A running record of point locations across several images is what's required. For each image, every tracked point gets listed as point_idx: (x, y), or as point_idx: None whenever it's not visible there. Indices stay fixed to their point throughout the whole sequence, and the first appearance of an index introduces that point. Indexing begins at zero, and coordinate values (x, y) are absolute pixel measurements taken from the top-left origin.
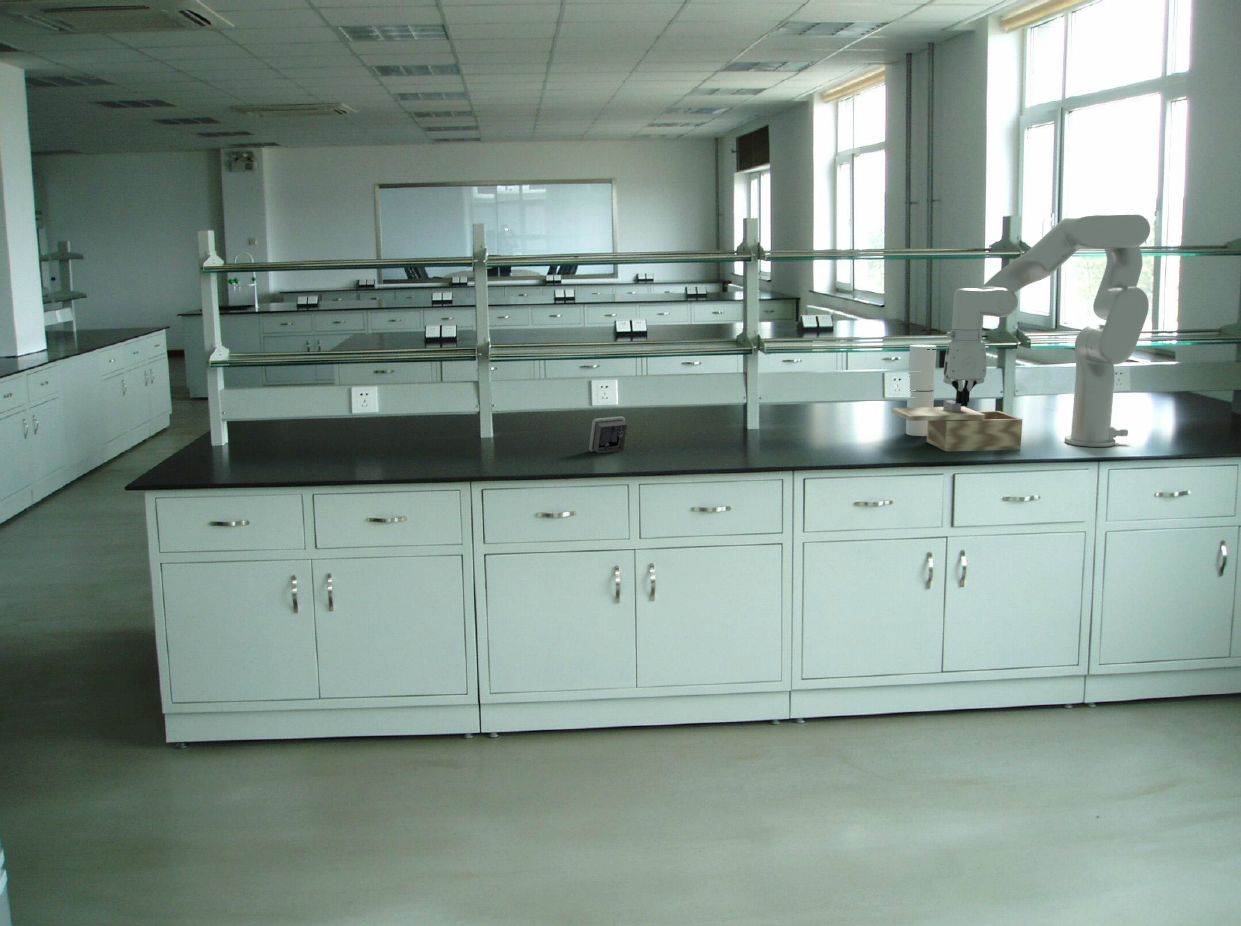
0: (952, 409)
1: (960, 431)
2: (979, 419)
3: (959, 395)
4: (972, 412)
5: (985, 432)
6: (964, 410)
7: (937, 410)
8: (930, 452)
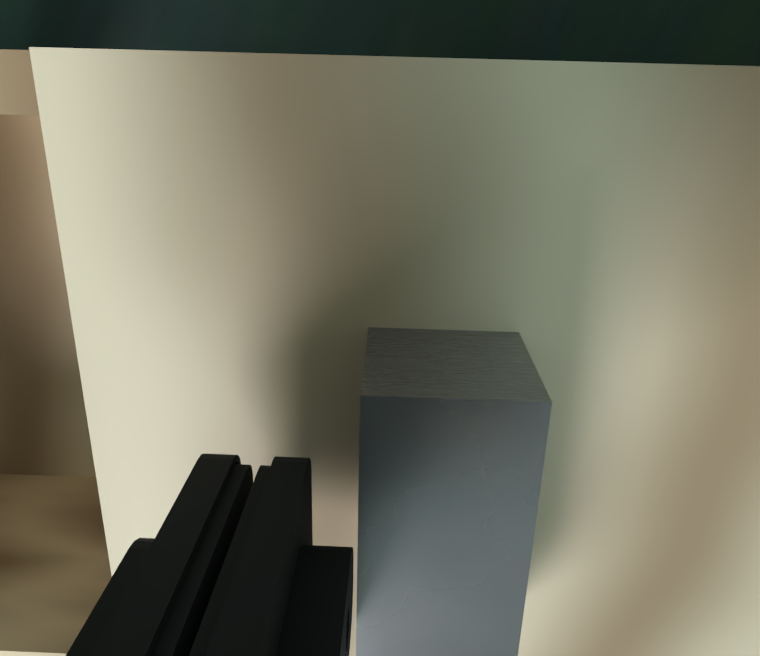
0: (519, 355)
1: None
2: (23, 585)
3: (318, 648)
4: (176, 304)
5: None
6: None
7: (619, 552)
8: (733, 55)
